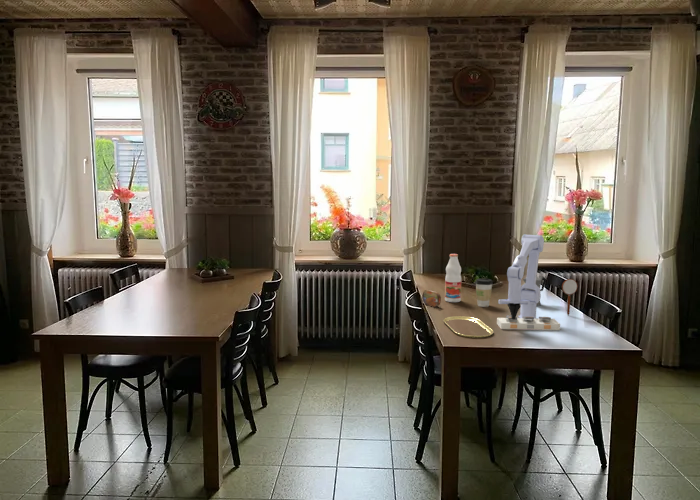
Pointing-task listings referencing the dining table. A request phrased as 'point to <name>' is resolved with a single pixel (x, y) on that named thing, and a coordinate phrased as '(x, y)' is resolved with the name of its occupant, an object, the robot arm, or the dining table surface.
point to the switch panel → (528, 324)
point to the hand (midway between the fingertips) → (513, 318)
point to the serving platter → (471, 320)
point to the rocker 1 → (510, 317)
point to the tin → (431, 298)
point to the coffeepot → (538, 284)
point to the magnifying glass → (569, 290)
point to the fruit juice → (453, 280)
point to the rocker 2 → (545, 318)
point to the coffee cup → (483, 291)
